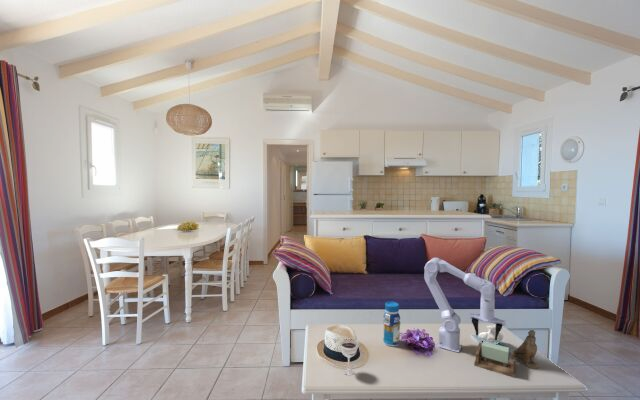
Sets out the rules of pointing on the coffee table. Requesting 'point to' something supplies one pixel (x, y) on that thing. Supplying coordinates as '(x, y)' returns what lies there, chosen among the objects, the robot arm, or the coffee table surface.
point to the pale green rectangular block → (495, 352)
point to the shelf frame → (495, 363)
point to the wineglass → (348, 353)
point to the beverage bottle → (391, 324)
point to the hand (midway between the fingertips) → (486, 337)
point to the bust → (491, 335)
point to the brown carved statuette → (527, 351)
